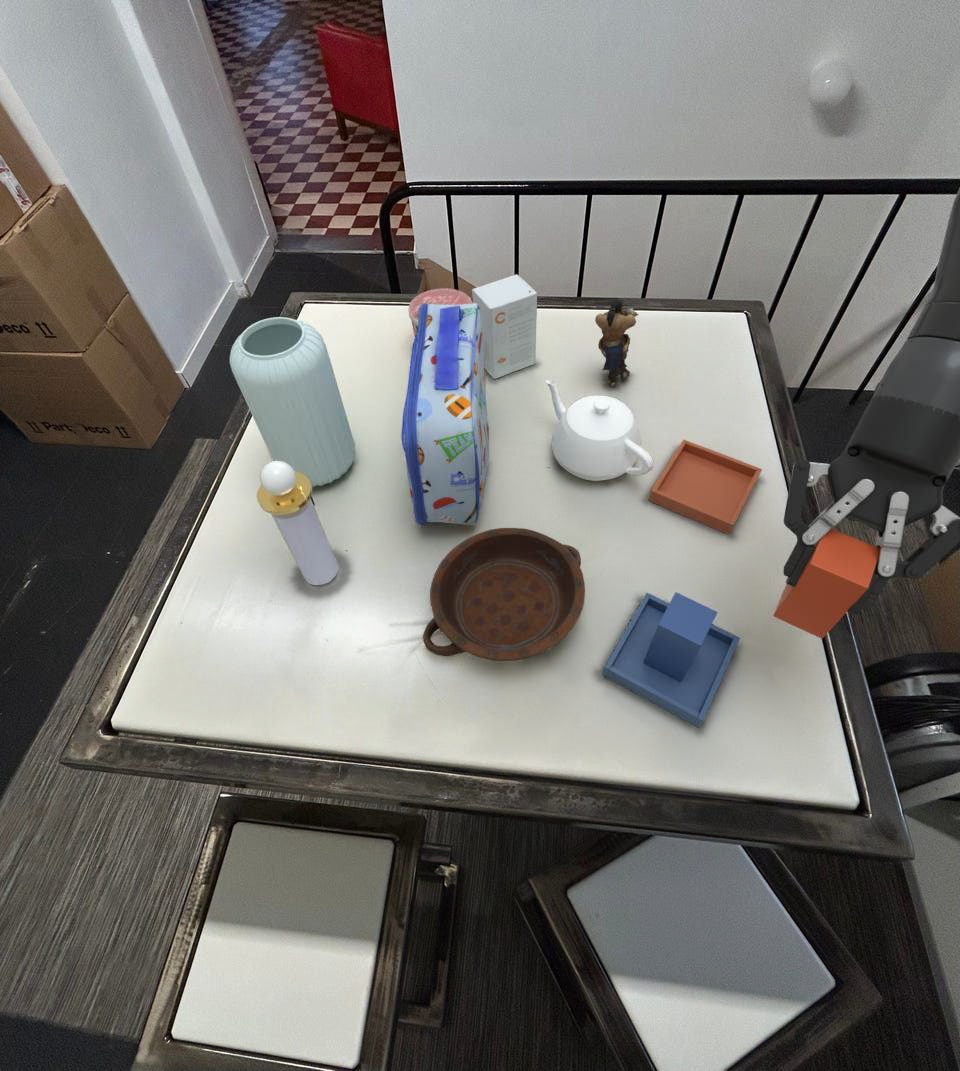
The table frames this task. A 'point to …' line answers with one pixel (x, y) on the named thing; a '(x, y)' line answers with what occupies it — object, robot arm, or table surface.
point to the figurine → (615, 339)
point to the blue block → (679, 636)
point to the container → (436, 301)
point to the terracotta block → (828, 583)
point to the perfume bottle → (297, 520)
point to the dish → (505, 595)
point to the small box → (507, 324)
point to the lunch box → (446, 415)
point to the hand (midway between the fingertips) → (820, 596)
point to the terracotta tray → (705, 486)
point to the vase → (294, 397)
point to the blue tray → (658, 687)
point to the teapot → (597, 438)
